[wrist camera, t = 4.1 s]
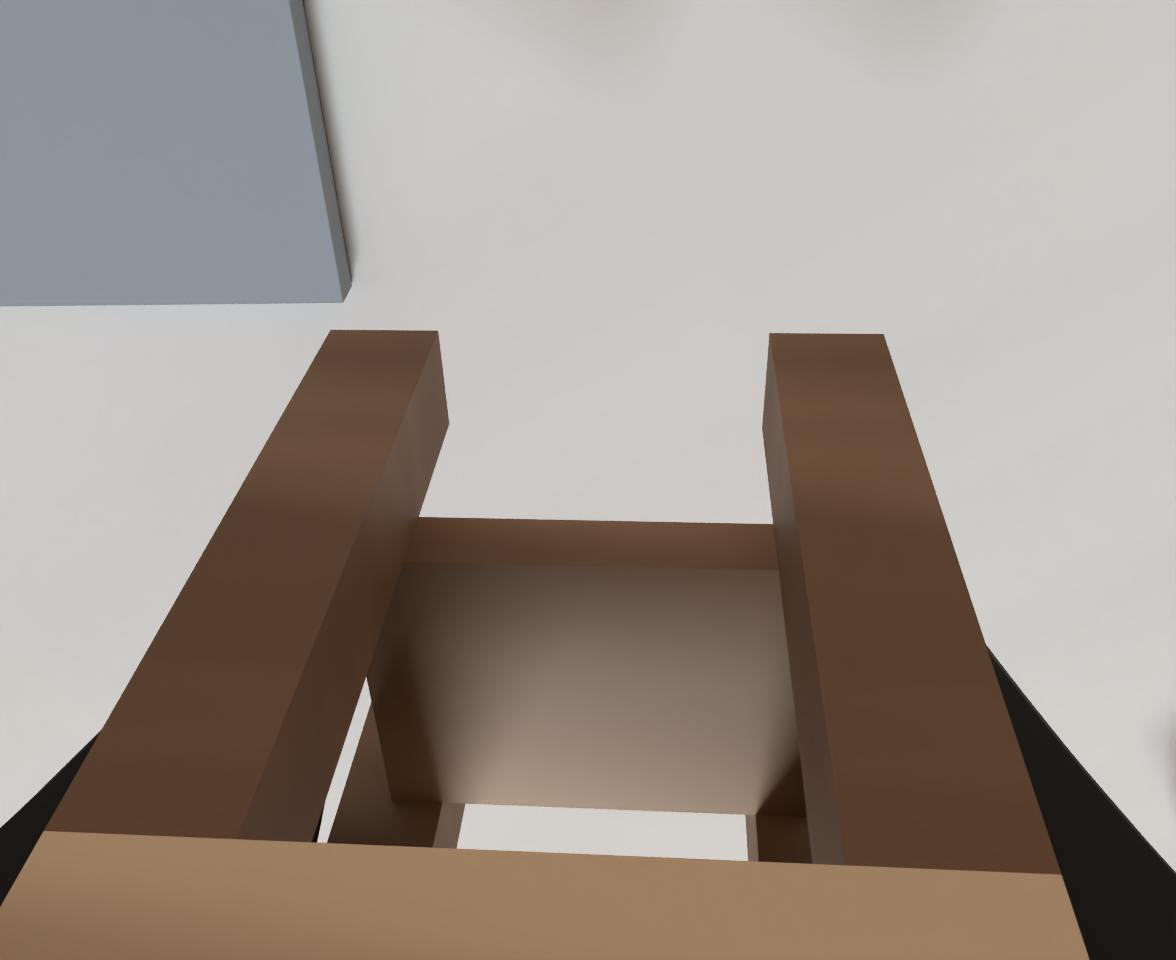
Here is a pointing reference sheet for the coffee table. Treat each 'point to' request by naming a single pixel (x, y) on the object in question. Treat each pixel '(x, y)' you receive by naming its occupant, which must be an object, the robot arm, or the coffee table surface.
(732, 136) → the coffee table surface
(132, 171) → the slate mat
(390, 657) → the stool
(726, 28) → the coffee table surface
